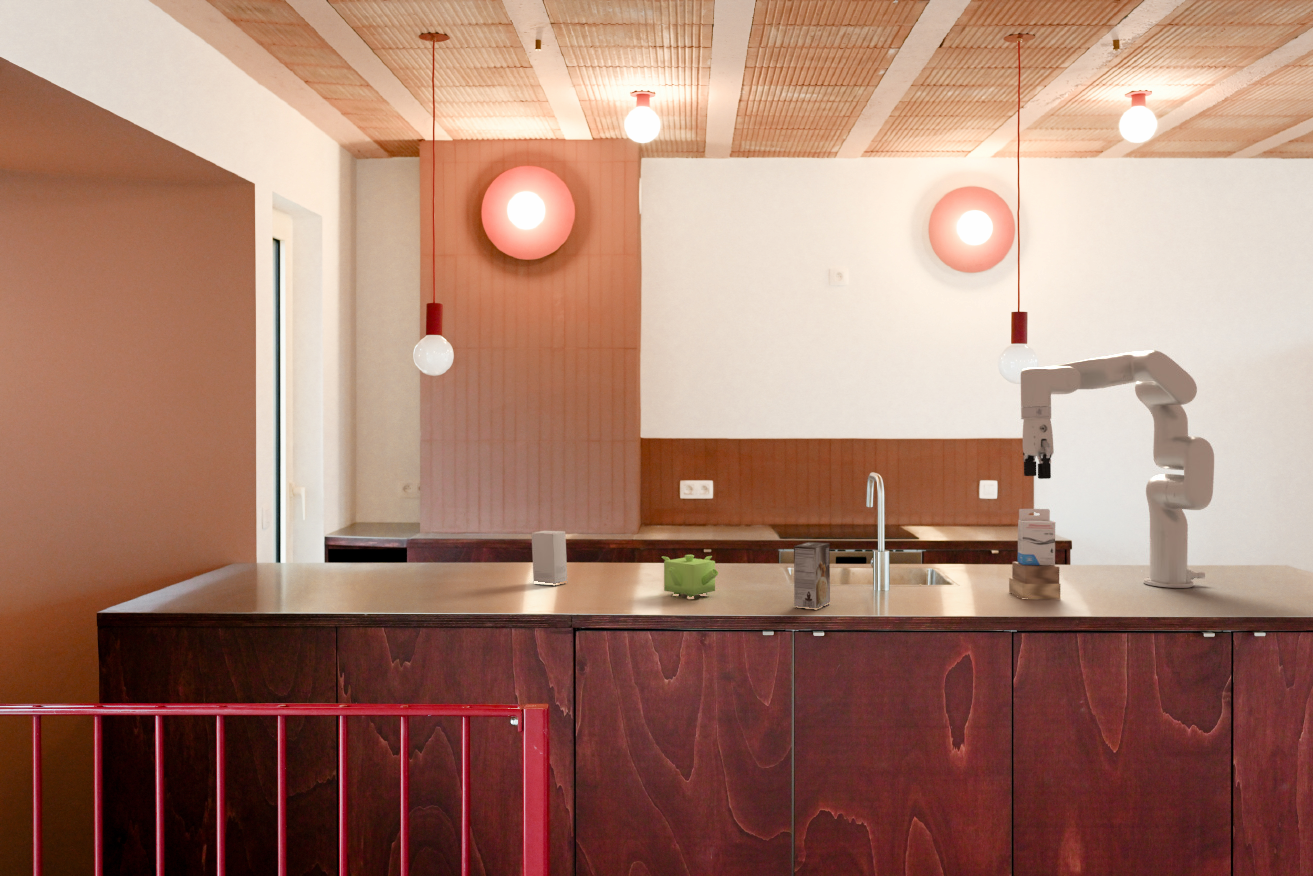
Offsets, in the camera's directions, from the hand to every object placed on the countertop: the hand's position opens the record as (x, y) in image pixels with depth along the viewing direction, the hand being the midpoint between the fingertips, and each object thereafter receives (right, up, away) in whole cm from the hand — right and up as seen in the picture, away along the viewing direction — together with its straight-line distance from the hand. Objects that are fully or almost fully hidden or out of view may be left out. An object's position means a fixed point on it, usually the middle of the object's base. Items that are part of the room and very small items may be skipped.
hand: (1037, 477), depth 254 cm
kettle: (-93, -33, +5) cm, 99 cm away
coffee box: (-62, -33, -12) cm, 72 cm away
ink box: (0, -24, 0) cm, 24 cm away
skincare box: (-134, -33, +24) cm, 140 cm away
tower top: (0, -28, 0) cm, 28 cm away
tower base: (0, -33, +1) cm, 32 cm away
